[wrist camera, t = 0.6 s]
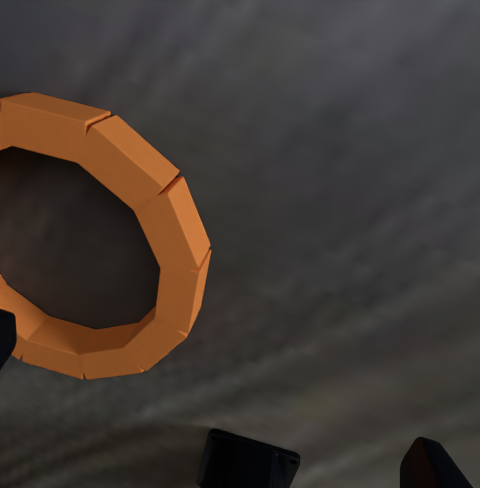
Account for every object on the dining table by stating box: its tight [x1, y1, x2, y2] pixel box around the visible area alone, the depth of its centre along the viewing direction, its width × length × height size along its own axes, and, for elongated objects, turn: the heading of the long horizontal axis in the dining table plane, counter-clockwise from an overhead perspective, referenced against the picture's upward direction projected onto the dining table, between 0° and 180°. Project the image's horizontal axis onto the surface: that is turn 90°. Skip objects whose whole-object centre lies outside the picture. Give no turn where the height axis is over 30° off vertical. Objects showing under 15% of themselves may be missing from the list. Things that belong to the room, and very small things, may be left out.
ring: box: [0, 92, 211, 380], centre depth 23 cm, size 16×16×2 cm
